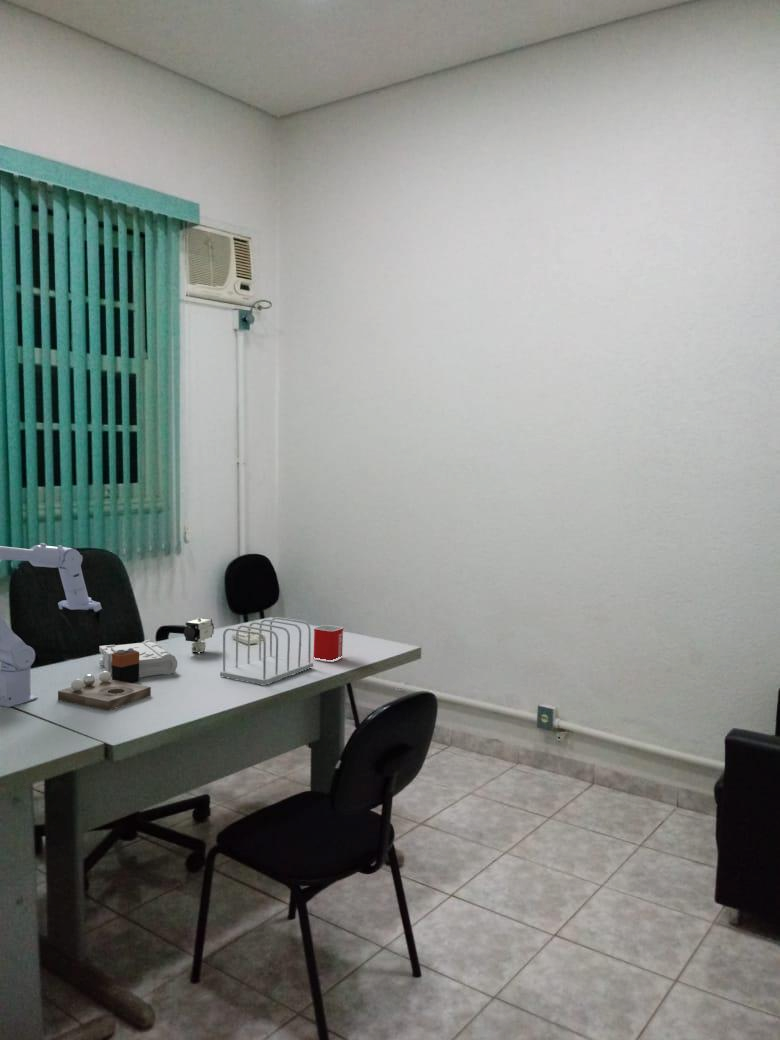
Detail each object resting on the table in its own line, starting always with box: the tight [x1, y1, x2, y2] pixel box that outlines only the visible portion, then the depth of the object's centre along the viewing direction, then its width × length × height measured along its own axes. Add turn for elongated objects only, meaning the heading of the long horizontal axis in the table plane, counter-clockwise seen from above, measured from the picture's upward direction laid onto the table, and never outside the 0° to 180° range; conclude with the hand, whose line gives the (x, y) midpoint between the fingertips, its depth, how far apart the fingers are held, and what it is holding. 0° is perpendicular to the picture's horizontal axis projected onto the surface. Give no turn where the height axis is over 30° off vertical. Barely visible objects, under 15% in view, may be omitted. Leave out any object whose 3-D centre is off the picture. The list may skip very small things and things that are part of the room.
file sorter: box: [219, 616, 314, 686], centre depth 258 cm, size 25×17×16 cm
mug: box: [313, 624, 344, 660], centre depth 280 cm, size 12×8×11 cm
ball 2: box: [98, 670, 112, 682], centre depth 234 cm, size 3×3×3 cm
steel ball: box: [82, 673, 96, 686], centre depth 230 cm, size 3×3×3 cm
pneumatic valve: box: [183, 616, 215, 653], centre depth 281 cm, size 6×12×12 cm, turn 160°
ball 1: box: [70, 678, 84, 691], centre depth 225 cm, size 3×3×3 cm
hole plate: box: [57, 678, 152, 712], centre depth 227 cm, size 16×18×2 cm
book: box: [99, 639, 178, 678], centre depth 261 cm, size 19×28×8 cm
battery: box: [111, 648, 140, 684], centre depth 242 cm, size 4×7×10 cm, turn 145°
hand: (86, 632), depth 237 cm, fingers open, 7 cm apart
